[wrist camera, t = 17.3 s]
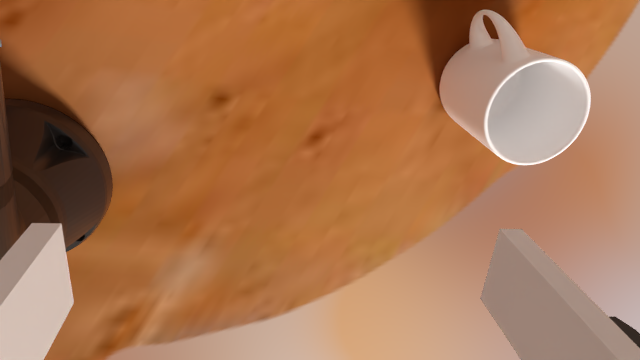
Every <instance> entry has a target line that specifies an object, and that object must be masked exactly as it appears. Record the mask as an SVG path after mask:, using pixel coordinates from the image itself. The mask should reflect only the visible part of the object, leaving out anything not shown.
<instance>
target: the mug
mask: <svg viewBox="0 0 640 360" xmlns="http://www.w3.org/2000/svg"><path fill="white" fill-rule="evenodd" d="M483 15H487V16H488V17H489V18H490V19H491V21H492V22H493V24H494V26H495V28H496V31H497V33H498V37H499V39H491V38H490V36H489V34H488V32H487V30H486V28H485V26H484V23H483ZM439 90H440V99H441V102H442V105H443V107H444V109H445V111H446V112H447V113H448V115H449V116H450V117H451V118H452V119H453V120H454V121H455V122H456V123H458V124H459V125H460V126H461V127H463V128H464V129H465V130H466V131H467V132H469V133H470V134H471V135H472V136H474V137H475V138H476V139H477V140H479V141H480V142H481V143H482V144H484V145H485V146H486V147H487V148H489V149H490V150H491V151H492V152H493V153H495V154H496V155H497V156H499V157H500V158H501V159H503V160H505V161H507V162H510V163H512V164H518V165H532V164H538V163H541V162H544V161H546V160H549V159H551V158H553V157H555V156H557V155H558V154H560V153H561V152H563V151H564V150H565V149H566V148H567V147H568V146H570V145H571V144H572V142H573V141H574V140H575V139H576V138H577V136H578V135H579V134H580V132H581V130H582V129H583V127H584V125H585V123H586V120H587V117H588V114H589V110H590V103H591V96H590V89H589V85H588V82H587V80H586V78H585V76H584V75H583V73H582V72H581V71H580V70H579V69H578V68H577V67H576V66H575V65H573V64H572V63H570V62H568V61H566V60H563V59H560V58H557V57H554V56H551V55H548V54H545V53H541V52H538V51H535V50H532V49H529V48H526V47H525V46H524V44H523V42H522V41H521V39H520V37H519V36H518V34H517V33H516V31H515V30H514V29H513V27H512V26H511V25H510V24H509V23H508V22H507V20H505V19H504V18H503V17H502V16H501V15H499V14H498V13H496V12H494V11H491V10H481V11H478V12H477V13H476V14H475V16H474V17H473V19H472V22H471V26H470V34H469V44H467V45H466V46H464V47H462V48H461V49H460V50H459V51H457V52H456V53H455V54H454V55H453V56H452V58H451V59H450V60H449V61H448V63H447V65H446V66H445V68H444V71H443V73H442V76H441V80H440V88H439Z"/></svg>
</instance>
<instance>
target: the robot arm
mask: <svg viewBox="0 0 640 360" xmlns="http://www.w3.org/2000/svg"><path fill="white" fill-rule="evenodd" d="M0 47H2V44H1V40H0ZM112 186H113V185H112V175H111V171H110V167H109V164H108V162H107V159H106V157H105V155H104V153H103V151H102V150H101V148H100V146H99V145H98V144H97V142H96V141H95V140H94V138H93V137H92V136H91V135H90V134H89V133H88V132H87V131H86V130H85V129H84V128H83V127H82V126H80V125H79V124H78V123H77V122H75V121H74V120H73V119H71V118H70V117H68V116H66V115H65V114H63V113H61V112H59V111H57V110H55V109H53V108H50V107H48V106H45V105H42V104H39V103H35V102H31V101H26V100H18V99H5V98H4V90H3V81H2V72H1V64H0V360H44V358H45V356H46V354H47V352H48V350H49V349H50V347H51V345H52V343H53V341H54V339H55V337H56V335H57V334H58V332H59V330H60V328H61V326H62V324H63V322H64V320H65V318H66V317H67V315H68V313H69V311H70V309H71V307H72V305H73V303H74V300H73V294H72V288H71V281H70V275H69V268H68V262H67V256H66V252H67V251H69V250H71V249H73V248H74V247H76V246H78V245H79V244H81V243H82V242H83V241H85V240H86V239H87V238H88V237H89V236H90V235H91V234H92V233H93V232H94V231H95V229H96V228H97V227H98V225H99V223H100V222H101V220H102V219H103V217H104V215H105V213H106V212H107V210H108V207H109V204H110V201H111V197H112ZM481 300H482V301H483V303H484V305H485V306H486V307H487V309H488V311H489V312H490V314H491V315H492V317H493V318H494V320H495V321H496V323H497V324H498V326H499V327H500V329H501V330H502V332H503V333H504V335H505V336H506V338H507V339H508V341H509V342H510V344H511V345H512V347H513V348H514V350H515V351H516V353H517V354H518V356H519V357H520V359H521V360H640V334H639V333H638V332H637V331H636V330H635V329H633V328H632V327H630V326H629V325H627V324H626V323H624V322H623V321H621V320H619V319H618V318H616V317H608V316H607V315H606V314H605V313H604V312H603V311H602V310H601V309H600V308H599V307H598V306H597V305H596V304H595V303H594V302H593V301H592V300H591V299H590V298H589V297H588V296H587V295H586V294H585V293H584V292H583V291H582V290H581V289H580V288H579V287H578V285H577V284H575V282H574V281H573V280H572V279H570V277H569V276H568V275H567V274H566V273H565V272H564V271H563V270H562V269H561V268H560V267H559V266H558V265H557V264H556V263H555V262H554V261H553V260H552V259H551V258H550V257H549V256H548V255H547V254H546V253H545V252H544V251H543V250H542V249H541V248H540V247H539V246H538V245H537V244H536V243H535V242H534V241H533V240H532V239H531V238H530V237H529V236H528V235H527V234H526V233H525V232H524V231H523V230H522V229H499V233H498V237H497V240H496V244H495V248H494V252H493V255H492V258H491V262H490V266H489V269H488V273H487V277H486V281H485V284H484V288H483V291H482V295H481Z"/></svg>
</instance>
